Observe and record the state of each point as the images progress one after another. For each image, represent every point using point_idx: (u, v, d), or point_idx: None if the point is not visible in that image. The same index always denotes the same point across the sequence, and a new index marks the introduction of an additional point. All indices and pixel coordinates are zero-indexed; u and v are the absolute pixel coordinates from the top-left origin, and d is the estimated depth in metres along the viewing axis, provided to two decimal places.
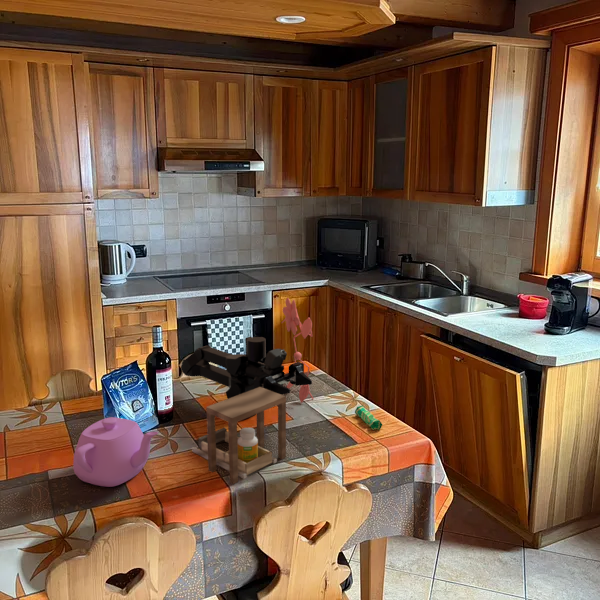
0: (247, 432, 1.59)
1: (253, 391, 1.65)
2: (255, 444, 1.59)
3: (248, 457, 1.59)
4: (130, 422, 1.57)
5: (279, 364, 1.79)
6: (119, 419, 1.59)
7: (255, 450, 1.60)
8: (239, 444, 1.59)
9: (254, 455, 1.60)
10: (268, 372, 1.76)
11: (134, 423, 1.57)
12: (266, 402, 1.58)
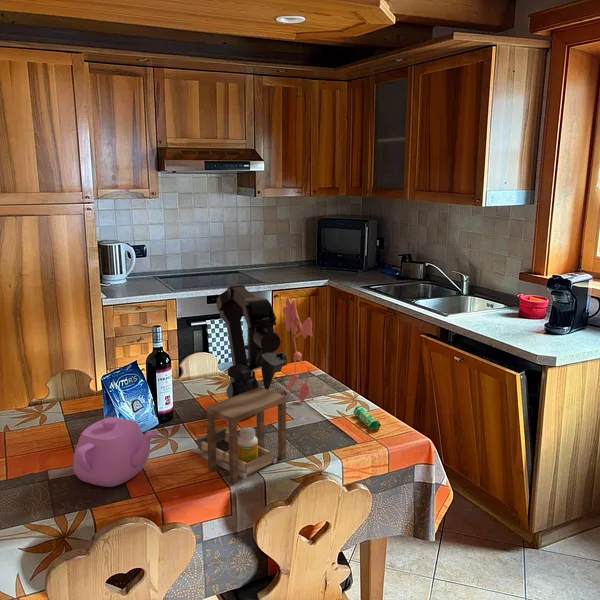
0: (247, 432, 1.59)
1: (253, 391, 1.65)
2: (255, 444, 1.59)
3: (248, 457, 1.59)
4: (130, 422, 1.57)
5: None
6: (119, 419, 1.59)
7: (255, 450, 1.60)
8: (239, 444, 1.59)
9: (254, 455, 1.60)
10: (256, 364, 1.70)
11: (134, 423, 1.57)
12: (266, 402, 1.58)
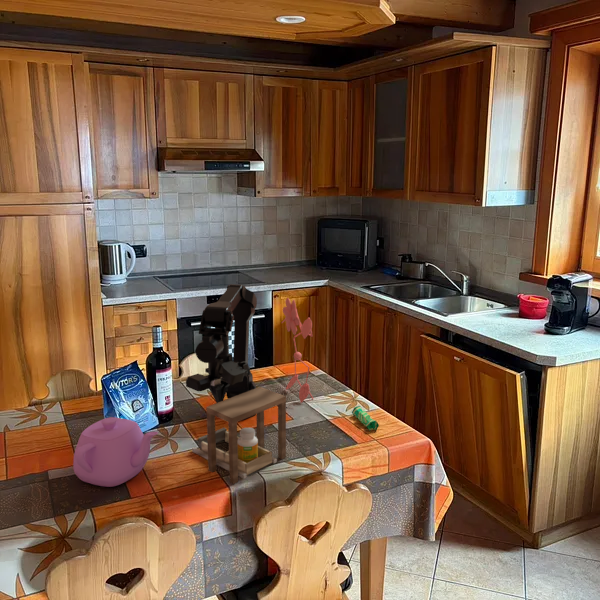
0: (247, 432, 1.59)
1: (253, 391, 1.65)
2: (255, 444, 1.59)
3: (248, 457, 1.59)
4: (130, 422, 1.57)
5: None
6: (119, 419, 1.59)
7: (255, 450, 1.60)
8: (239, 444, 1.59)
9: (254, 455, 1.60)
10: (216, 374, 1.62)
11: (134, 423, 1.57)
12: (266, 402, 1.58)
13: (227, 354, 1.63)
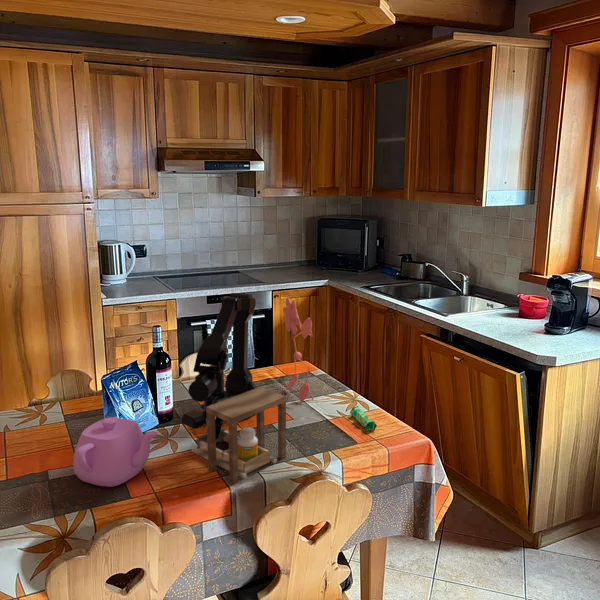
0: (247, 432, 1.59)
1: (253, 391, 1.65)
2: (255, 444, 1.59)
3: (248, 457, 1.59)
4: (130, 422, 1.57)
5: None
6: (119, 419, 1.59)
7: (255, 450, 1.60)
8: (239, 444, 1.59)
9: (254, 455, 1.60)
10: None
11: (134, 423, 1.57)
12: (266, 402, 1.58)
13: (222, 391, 1.66)
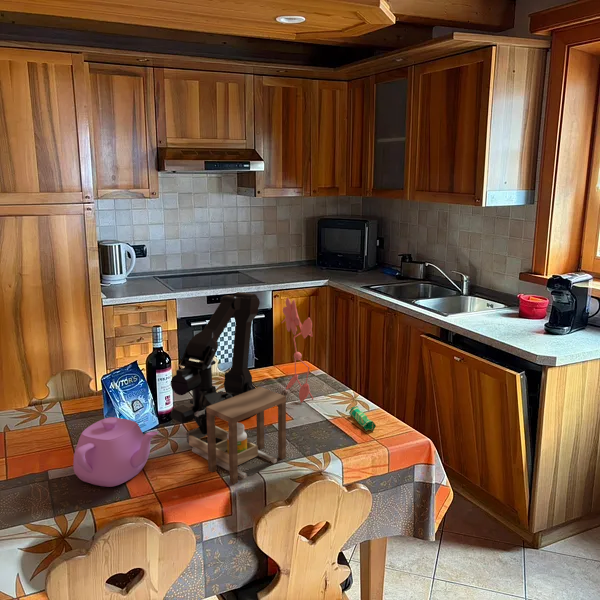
0: (237, 427, 1.62)
1: (253, 391, 1.65)
2: (244, 439, 1.62)
3: (237, 452, 1.62)
4: (130, 422, 1.57)
5: None
6: (119, 419, 1.59)
7: (244, 445, 1.63)
8: (228, 439, 1.62)
9: (243, 450, 1.63)
10: (200, 405, 1.68)
11: (134, 423, 1.57)
12: (266, 402, 1.58)
13: (210, 386, 1.70)
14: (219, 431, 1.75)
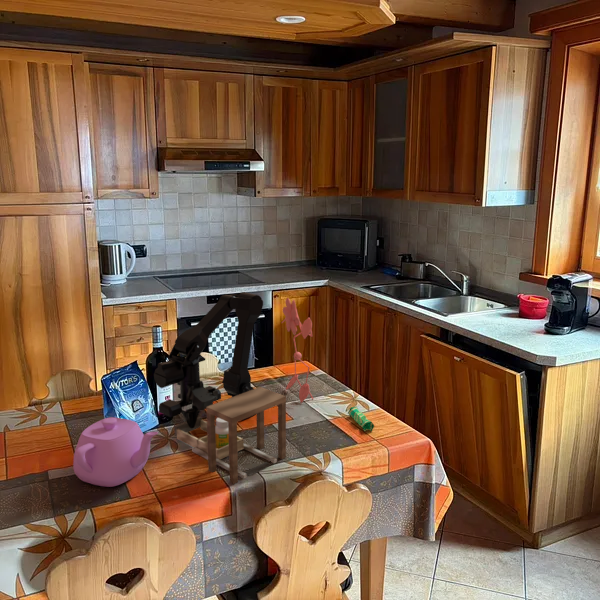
0: (223, 420, 1.66)
1: (253, 391, 1.65)
2: None
3: (223, 445, 1.66)
4: (130, 422, 1.57)
5: None
6: (119, 419, 1.59)
7: None
8: (215, 432, 1.66)
9: None
10: (187, 400, 1.72)
11: (134, 423, 1.57)
12: (266, 402, 1.58)
13: (198, 381, 1.73)
14: (206, 425, 1.79)
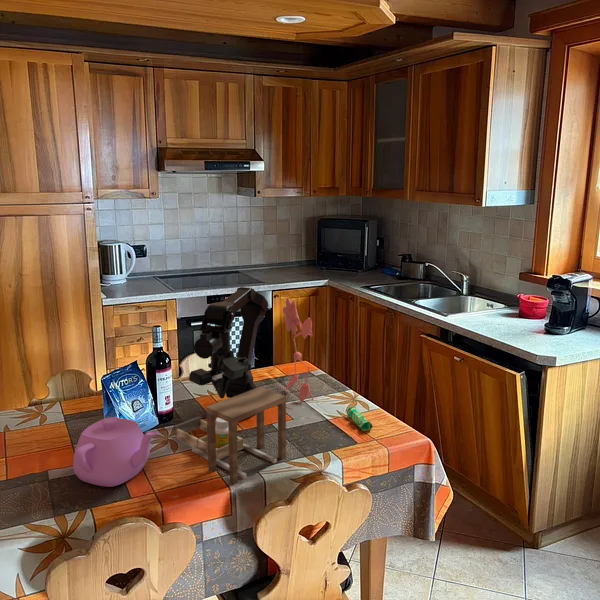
0: (222, 420, 1.66)
1: (253, 391, 1.65)
2: None
3: (223, 445, 1.66)
4: (130, 422, 1.57)
5: None
6: (119, 419, 1.59)
7: None
8: None
9: None
10: (218, 369, 1.71)
11: (134, 423, 1.57)
12: (266, 402, 1.58)
13: (228, 350, 1.72)
14: (206, 424, 1.79)
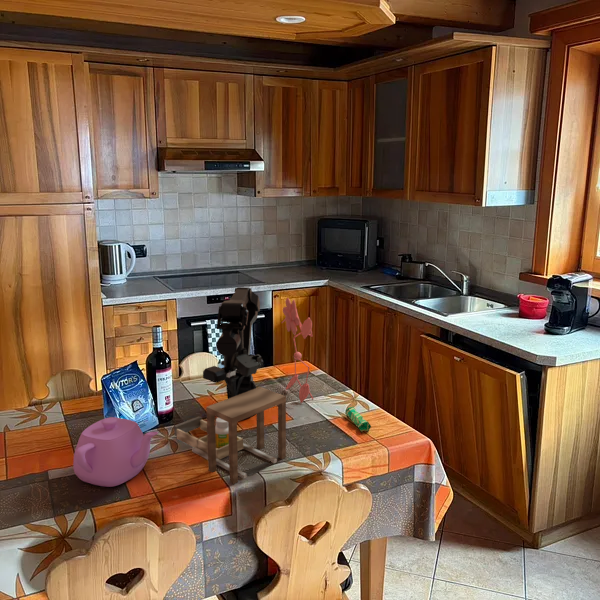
0: (222, 420, 1.66)
1: (253, 391, 1.65)
2: None
3: (223, 445, 1.66)
4: (130, 422, 1.57)
5: None
6: (119, 419, 1.59)
7: None
8: None
9: None
10: (231, 366, 1.71)
11: (134, 423, 1.57)
12: (266, 402, 1.58)
13: (242, 347, 1.73)
14: (206, 424, 1.79)
